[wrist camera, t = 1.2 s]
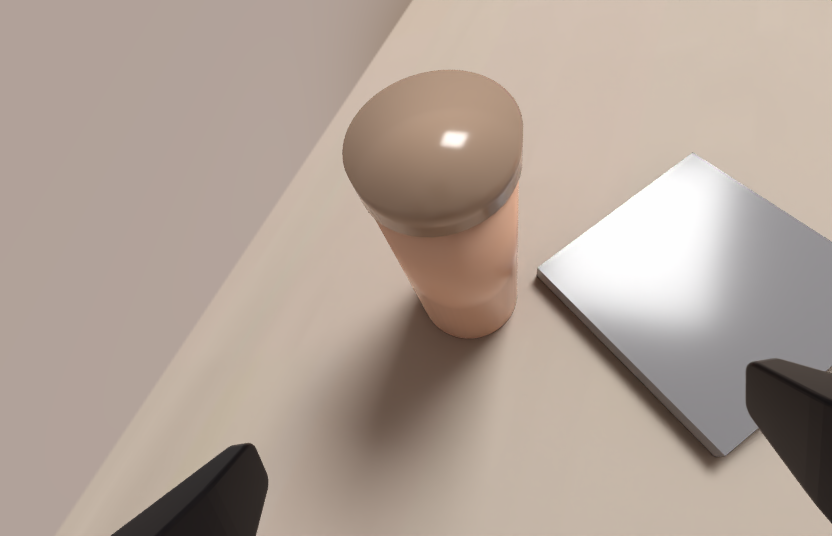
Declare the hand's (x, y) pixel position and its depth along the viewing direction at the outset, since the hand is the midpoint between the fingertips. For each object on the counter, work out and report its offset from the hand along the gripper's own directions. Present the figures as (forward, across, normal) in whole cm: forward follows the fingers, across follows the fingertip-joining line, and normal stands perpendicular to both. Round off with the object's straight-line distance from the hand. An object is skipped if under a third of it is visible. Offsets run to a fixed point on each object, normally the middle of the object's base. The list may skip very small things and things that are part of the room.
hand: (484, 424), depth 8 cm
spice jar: (+15, 0, +4) cm, 16 cm away
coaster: (+14, -11, +5) cm, 18 cm away
